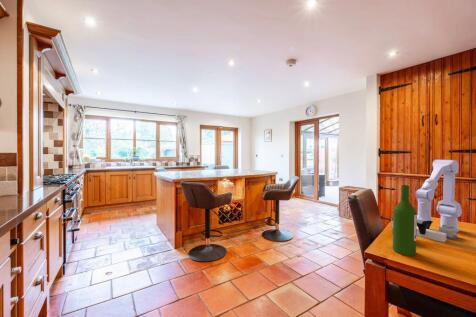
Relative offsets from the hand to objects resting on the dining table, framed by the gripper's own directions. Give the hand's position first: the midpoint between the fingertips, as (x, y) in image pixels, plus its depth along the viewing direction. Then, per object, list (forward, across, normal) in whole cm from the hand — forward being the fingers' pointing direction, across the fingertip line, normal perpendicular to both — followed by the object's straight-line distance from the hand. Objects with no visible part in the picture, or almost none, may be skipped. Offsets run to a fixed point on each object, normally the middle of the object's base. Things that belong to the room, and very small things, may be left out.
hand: (423, 233), depth 121 cm
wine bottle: (+2, +32, +2) cm, 33 cm away
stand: (+1, -10, 0) cm, 10 cm away
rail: (+2, 0, 0) cm, 2 cm away
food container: (+2, +14, -5) cm, 15 cm away
